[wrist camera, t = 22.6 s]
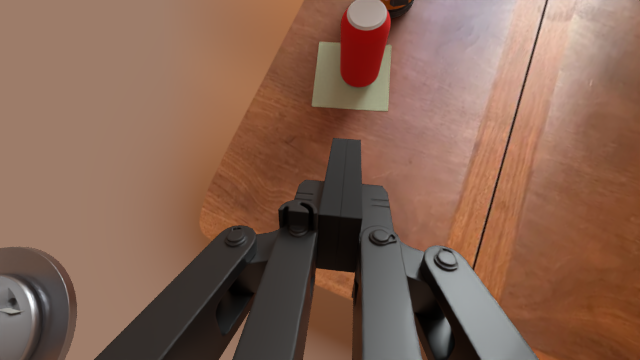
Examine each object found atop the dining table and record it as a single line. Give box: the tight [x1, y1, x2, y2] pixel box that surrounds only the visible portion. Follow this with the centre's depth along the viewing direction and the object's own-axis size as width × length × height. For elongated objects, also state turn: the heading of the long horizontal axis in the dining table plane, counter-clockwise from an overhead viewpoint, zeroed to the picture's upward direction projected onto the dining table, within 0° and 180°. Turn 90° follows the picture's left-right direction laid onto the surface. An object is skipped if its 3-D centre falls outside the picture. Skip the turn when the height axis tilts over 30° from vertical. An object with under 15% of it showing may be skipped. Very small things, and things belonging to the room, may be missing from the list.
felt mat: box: [312, 42, 391, 112], centre depth 43 cm, size 12×12×1 cm
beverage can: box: [340, 0, 391, 88], centre depth 37 cm, size 6×6×12 cm
